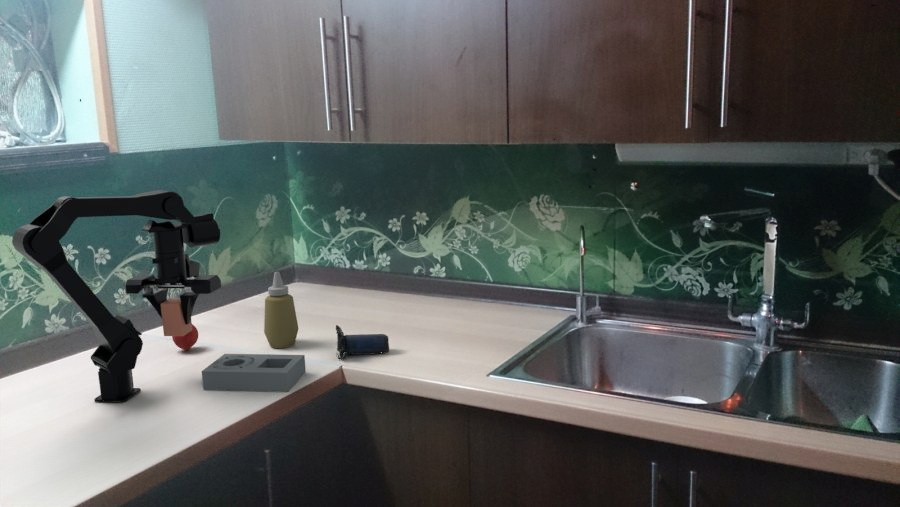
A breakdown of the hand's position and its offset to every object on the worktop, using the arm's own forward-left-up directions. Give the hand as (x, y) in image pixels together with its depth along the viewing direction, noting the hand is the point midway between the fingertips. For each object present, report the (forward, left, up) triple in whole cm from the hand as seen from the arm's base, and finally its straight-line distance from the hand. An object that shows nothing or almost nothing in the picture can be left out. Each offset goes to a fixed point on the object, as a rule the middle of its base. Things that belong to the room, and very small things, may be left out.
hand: (177, 323), depth 158 cm
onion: (+18, +8, -12) cm, 23 cm away
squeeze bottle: (+23, -14, -12) cm, 29 cm away
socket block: (-1, -17, -12) cm, 21 cm away
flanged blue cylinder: (+17, -35, -12) cm, 41 cm away
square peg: (0, 0, -2) cm, 2 cm away
